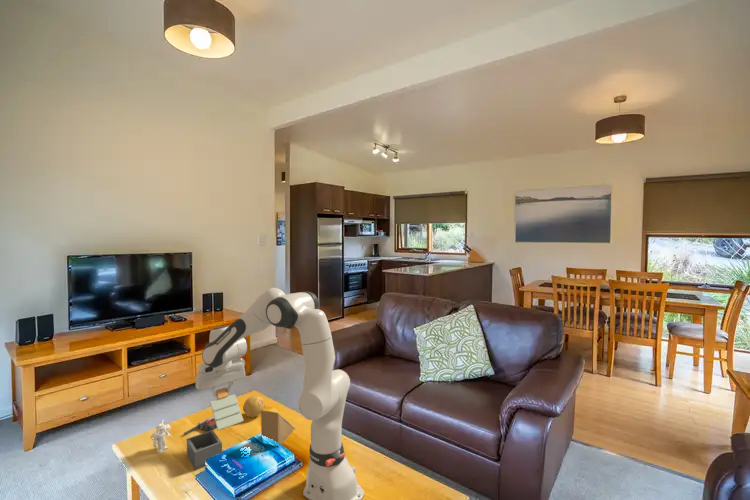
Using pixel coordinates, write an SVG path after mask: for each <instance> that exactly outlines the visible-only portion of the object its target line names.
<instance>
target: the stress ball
mask: <svg viewBox="0 0 750 500" xmlns="http://www.w3.org/2000/svg"><path fill="white" fill-rule="evenodd" d="M242 406H243V407H242V410H243V412H244V414H245V415H246V416H247V417H248V418H249V417H250V418H257V417H258V416H261V410H263V411H264V409H265V407H266V406H265V401H264V399H263V397H261V396H259V395H251V396H249V397H247V399H246V400H245V402H244V404H243V405H242Z"/></svg>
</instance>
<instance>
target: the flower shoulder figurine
mask: <svg viewBox="0 0 750 500" xmlns="http://www.w3.org/2000/svg"><path fill="white" fill-rule="evenodd" d="M164 421H165V418H163V419H162V421H160V423H159V424H157V426H156V427H155V429H156V431H153V432H152V434H150V439H151V440H152V441H153V444H152V447H153V448H157V449H156V453H157V454H161V453H164V450H166V449H168V446H167V445H166V444H167V443H166V438H165V437H167V438H172V437H171V434H170V432H169V431H170V430H171V426H170V423H166V424H164Z"/></svg>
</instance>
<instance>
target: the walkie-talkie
mask: <svg viewBox="0 0 750 500" xmlns="http://www.w3.org/2000/svg"><path fill="white" fill-rule="evenodd" d="M196 429H200V430H204V431H205V432H208V431H211V430H213V431H214V430H216V429H217V426H216V422H215V419H214V415H212V416H210V417H208V418H205V419H203V420H201V421H200V422H198V423H197V425H196V426H194V427H192V428H191V429H189V430H187V431H185V432H183V436H185V435H188V434H190V433H191V432H193V431H194V430H196Z"/></svg>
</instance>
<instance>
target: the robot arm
mask: <svg viewBox="0 0 750 500" xmlns="http://www.w3.org/2000/svg"><path fill="white" fill-rule="evenodd" d="M319 308H320V301H319V298H318V297H317V295H316V294H315V293H314V292H312V291H307V290H306V291H298V292H293V293H287V294H286V293H285V292H284V291H283V290H282V289H280V288H278V287H271V288H268V289H267V290H265V291H264V292H263V293H261V294H260V295H259V296H258V297H257V299H255V301H253V302H252V304H251V305H250V306H249V307H248V308H247V309H246V310H245V312H243V313H242V314H241V315H240V316H239V317H238V318H237V319H236V320H235V321H233V322H232V323H231V324H230V325H221V326H217V327H216V326H215V327H213V328H212V329H210V332H209V338H208V339H209V340H208V341H209V342H207V343H206V344H205V346H204V347H203V350H202V353H201V358H202V361H203V362H201V363H200V364H198V366H197V369H198V372H197V373H196V375H195V389H196V390H197V391H198V392H201V391H204V390H208V389H210V390H211V391H212V395H213V397H216V396H218V392H217V391H216V390H215V389H216V387H218V386H222V385H225V384H228V385H227V387H226V390H227V393H231V391H232V389H231V388H232V386H233V385H234V382H237V381H239V380H244V379H245V377H246V369H245V365H246V361H245V359H244V358H242V357H244V356H246V355H247V352H248V350H249V343H248V339H247V338H246V337H248V336H251V335H254V334H256V333H260V332H262V331H265V330H266V329H268V328H269V327H270V326H274V327H278V328H285V329H289V330H291V329H293V328H294V327H295V328H296V329H297V330H298V332H299V335H300V336H299V337H300V343H301V349H302V354H303V362H304V374H303V384H302V390H301V394H300V396H299V399H298V404H297V405H298V409H299V412H300V413H301V415H302V417H304V419H306V420H307V421H308V420H309V421H311V424H310V445H309V459H310V460H309V463H308V466H307V470H306V479H305V480H306V481H305V487H304V489H303V492H302V495H303V496H304V497H305V498H307V499H308V500H363V498H364V497H365V491H364V489H363V488H362V486H361V485H360V484H359V483H358V480H357V476H356V474H355V473H356V468H355V466H354V465H353V466H351V465H350V463H349V460H348V458H347V457H346V454H347V452H346V451H345V449H344V448H345V447H344V444H343V442H342V441H343V440H342V439H343V438H342V435H343V434H342V428H343V427H342V426H343V417H344V413H345V412H344V411H345V407H346V400H347V396H348V393H349V390H350V387H351V379H350V376H349V375H348V373H347V372H346V371H344V370H343V369H338V368H337V369H334V366H335V362H336V354H335V353H336V352H335V347H334V342H333V336H332V331H331V328H330V323H329V321H328V318H327V315H326V313H325V312H324V311H323V310H321V309H319Z"/></svg>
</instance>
